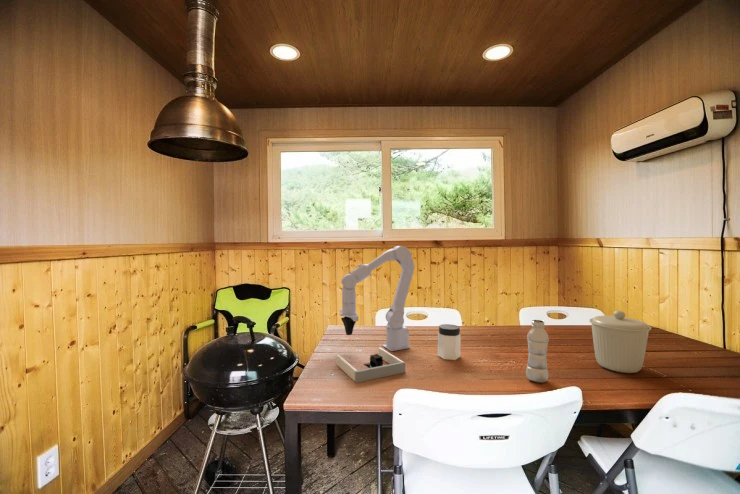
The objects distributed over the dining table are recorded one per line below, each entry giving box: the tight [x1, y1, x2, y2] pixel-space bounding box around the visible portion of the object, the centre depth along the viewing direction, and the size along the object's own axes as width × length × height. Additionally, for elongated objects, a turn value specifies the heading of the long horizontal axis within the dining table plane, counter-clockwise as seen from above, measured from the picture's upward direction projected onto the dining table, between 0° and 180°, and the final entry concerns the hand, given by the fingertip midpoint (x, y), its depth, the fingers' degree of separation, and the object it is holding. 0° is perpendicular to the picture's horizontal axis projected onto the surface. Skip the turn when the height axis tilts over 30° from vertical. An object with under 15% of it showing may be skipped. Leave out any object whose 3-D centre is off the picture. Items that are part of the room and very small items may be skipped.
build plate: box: [363, 353, 384, 369], centre depth 121 cm, size 12×7×5 cm, turn 34°
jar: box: [437, 323, 462, 361], centre depth 132 cm, size 9×8×12 cm
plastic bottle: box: [525, 319, 550, 383], centre depth 109 cm, size 6×7×20 cm
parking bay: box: [335, 347, 406, 384], centre depth 120 cm, size 19×18×4 cm
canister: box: [588, 310, 652, 374], centre depth 121 cm, size 18×18×21 cm
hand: (349, 334), depth 140 cm, fingers closed
